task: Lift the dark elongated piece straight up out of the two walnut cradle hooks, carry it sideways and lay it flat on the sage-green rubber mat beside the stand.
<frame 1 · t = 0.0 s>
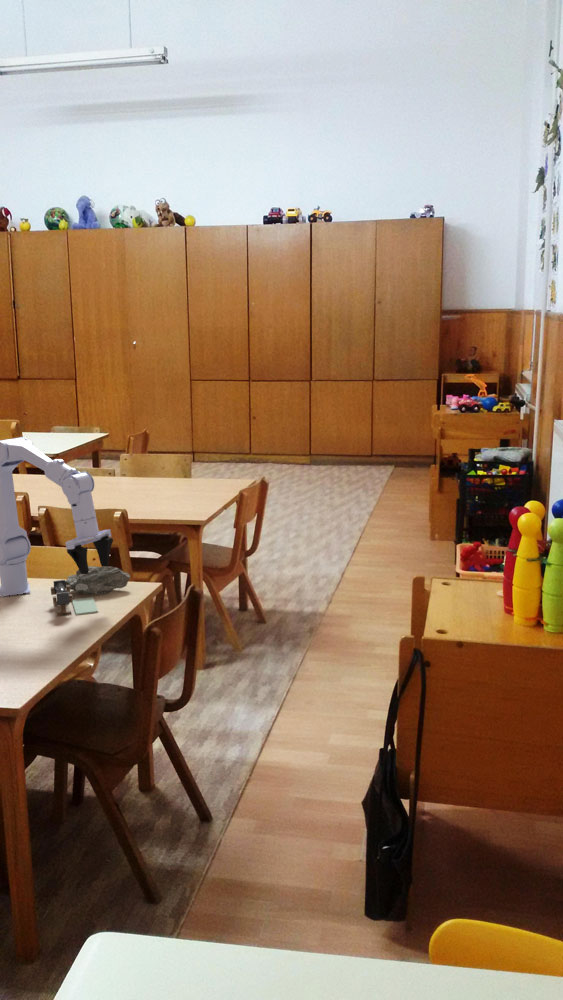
hand: (95, 569, 210), 11 cm above the table, fingers open, 7 cm apart
dark elongated piece: (61, 597, 212), point 3 cm above the table, touching rail stand
rock: (97, 591, 227), on the table
rail stand: (62, 609, 212), on the table
mat: (84, 606, 214), on the table
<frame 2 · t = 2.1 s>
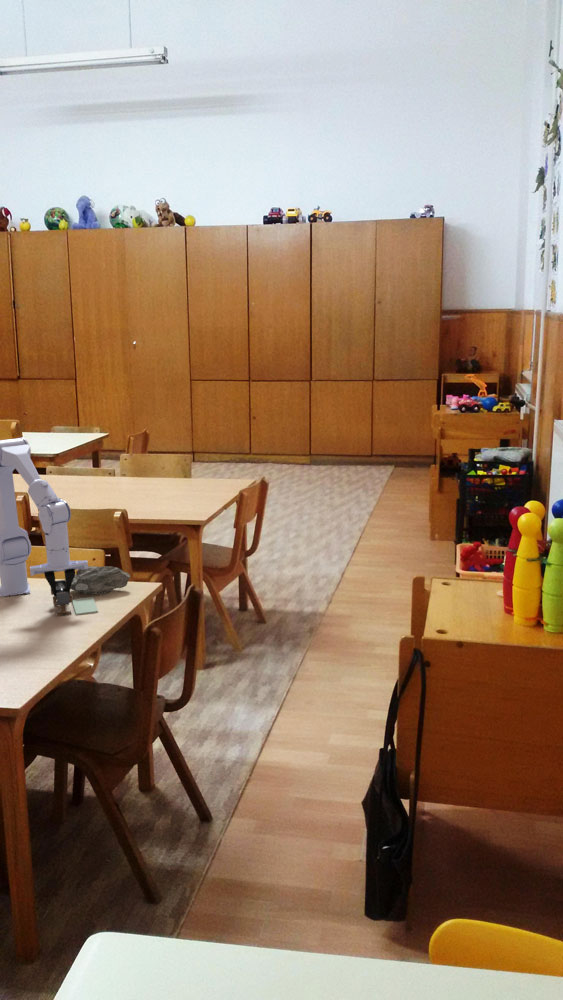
hand: (61, 597, 212), 3 cm above the table, fingers closed on dark elongated piece, 2 cm apart
dark elongated piece: (61, 597, 212), point 3 cm above the table, touching gripper, rail stand
everything else where it was.
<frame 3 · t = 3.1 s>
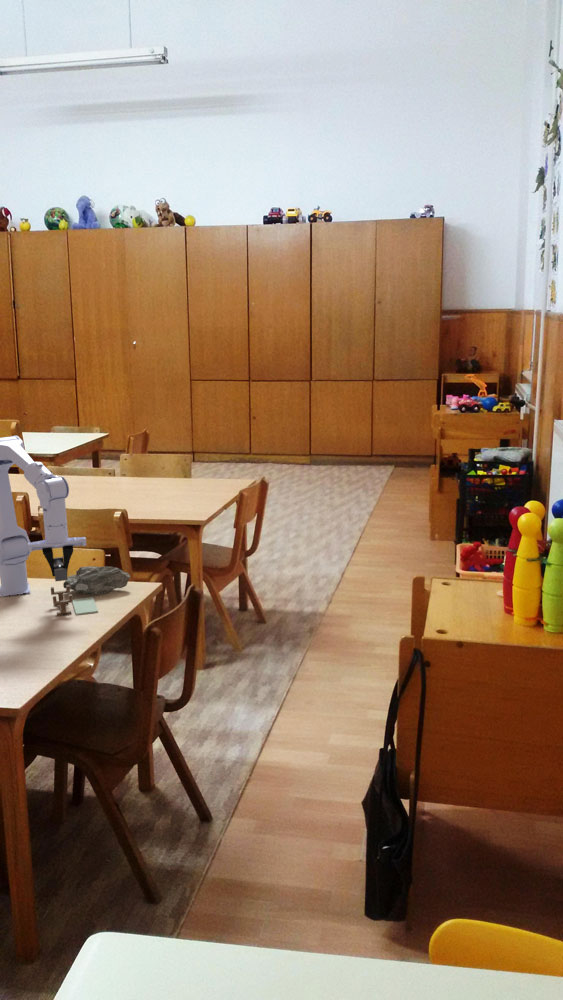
hand: (59, 574, 210), 10 cm above the table, fingers closed on dark elongated piece, 2 cm apart
dark elongated piece: (59, 574, 210), point 10 cm above the table, touching gripper
everything else where it was.
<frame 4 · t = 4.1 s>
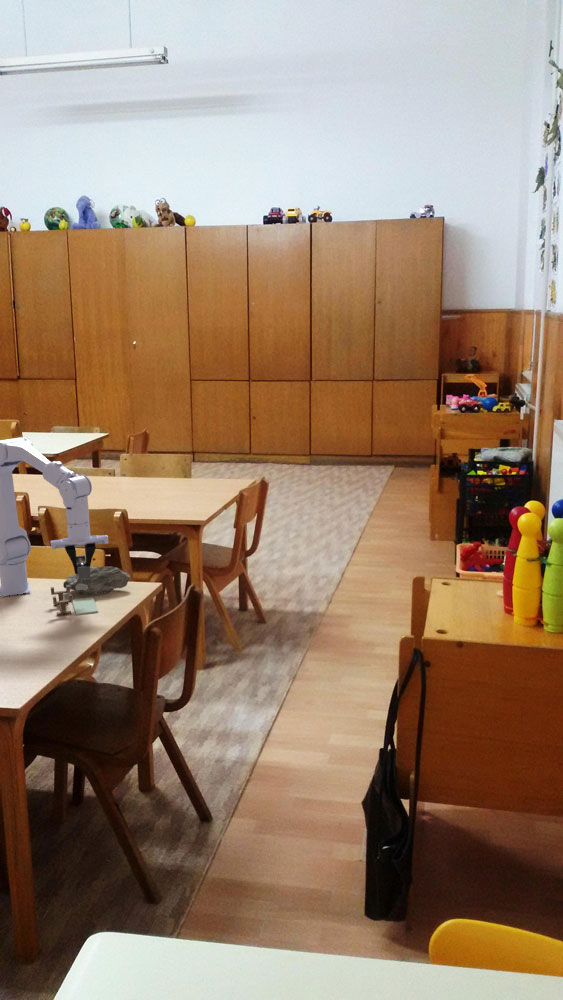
hand: (82, 572, 212), 9 cm above the table, fingers closed on dark elongated piece, 2 cm apart
dark elongated piece: (82, 572, 212), point 10 cm above the table, touching gripper
everything else where it was.
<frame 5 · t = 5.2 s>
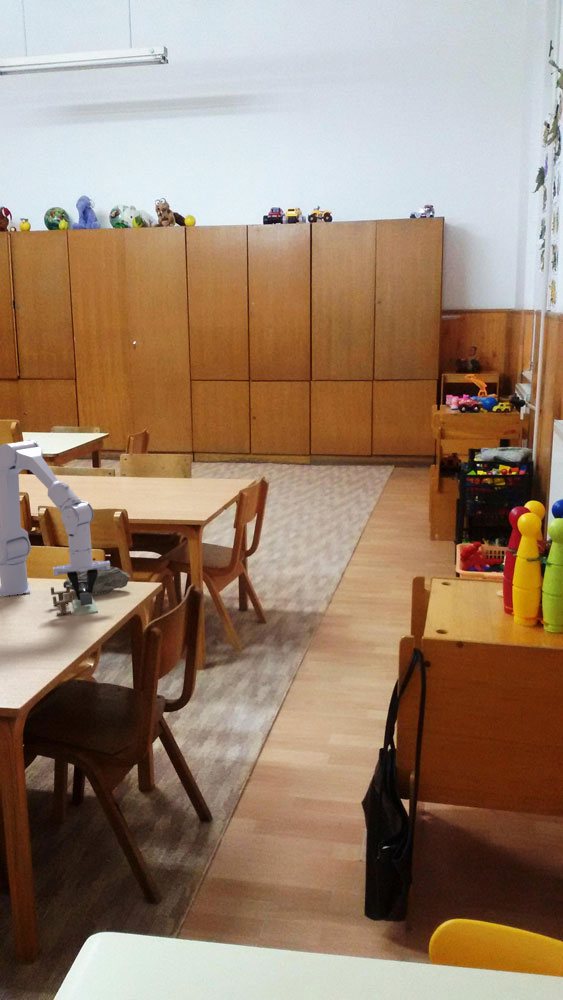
hand: (84, 598, 214), 2 cm above the table, fingers closed on dark elongated piece, 2 cm apart
dark elongated piece: (84, 598, 214), point 2 cm above the table, touching gripper
everything else where it was.
when the fingers open (1 cm above the table, at t = 6.1 s): dark elongated piece drops 1 cm, resting on mat.
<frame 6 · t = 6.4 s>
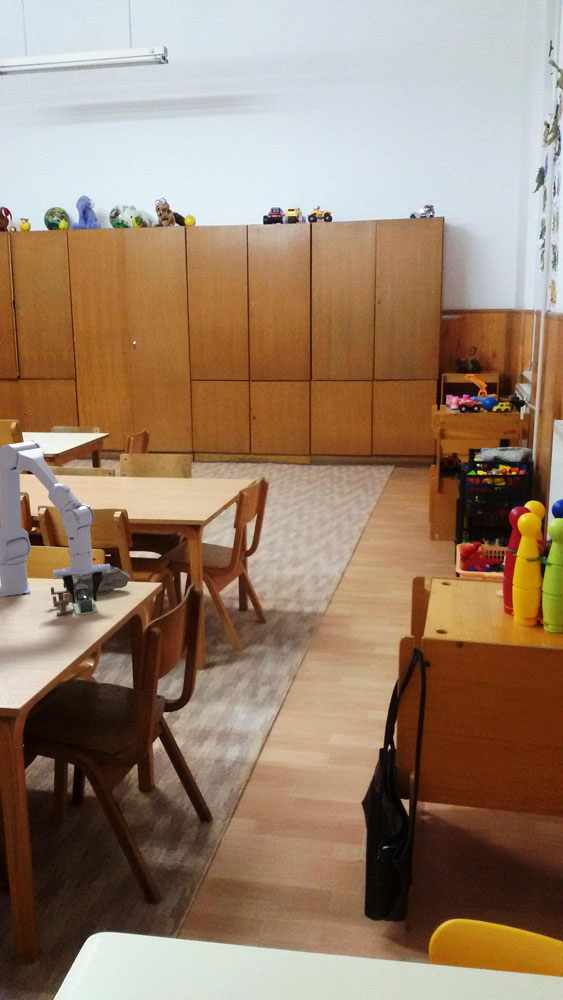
hand: (84, 601, 214), 2 cm above the table, fingers open, 5 cm apart
dark elongated piece: (84, 605, 214), resting on mat
everything else where it was.
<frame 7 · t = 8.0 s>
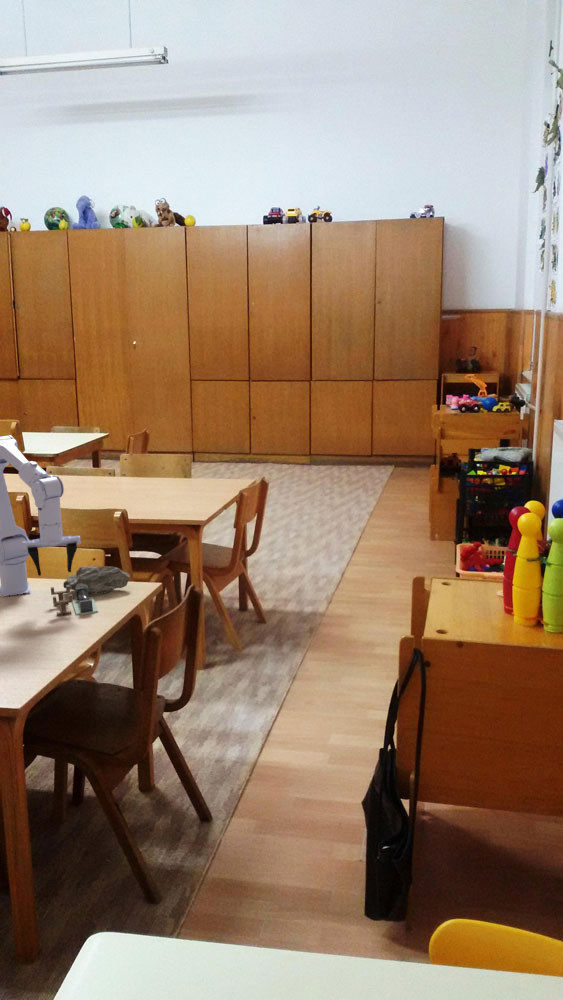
hand: (54, 572, 213), 9 cm above the table, fingers open, 7 cm apart
nothing on the table moved.
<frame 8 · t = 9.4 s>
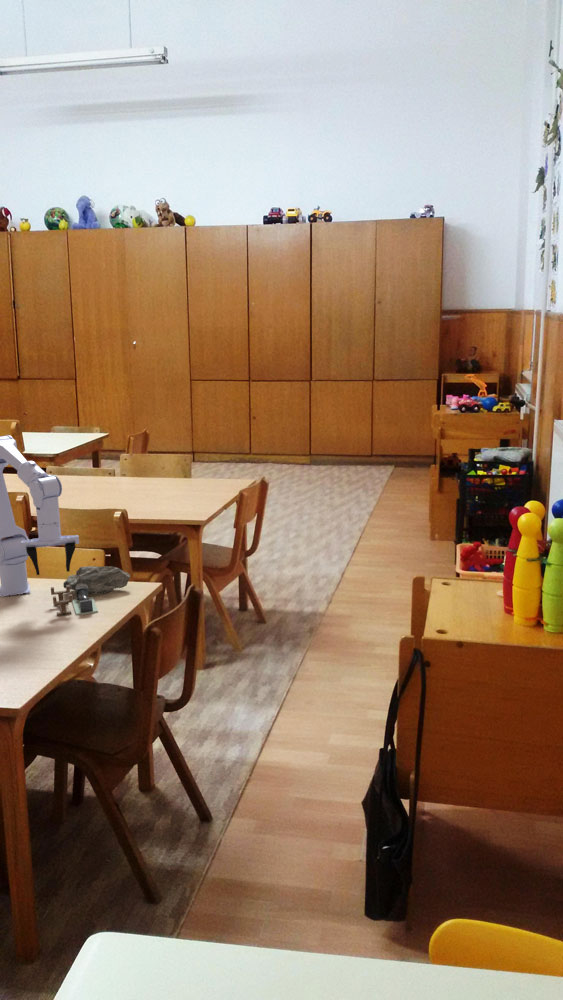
hand: (53, 572, 213), 9 cm above the table, fingers open, 7 cm apart
nothing on the table moved.
at the end: dark elongated piece inside the target area (0.1 cm from its centre), resting on mat; dark elongated piece touching mat; the gripper is holding nothing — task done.
